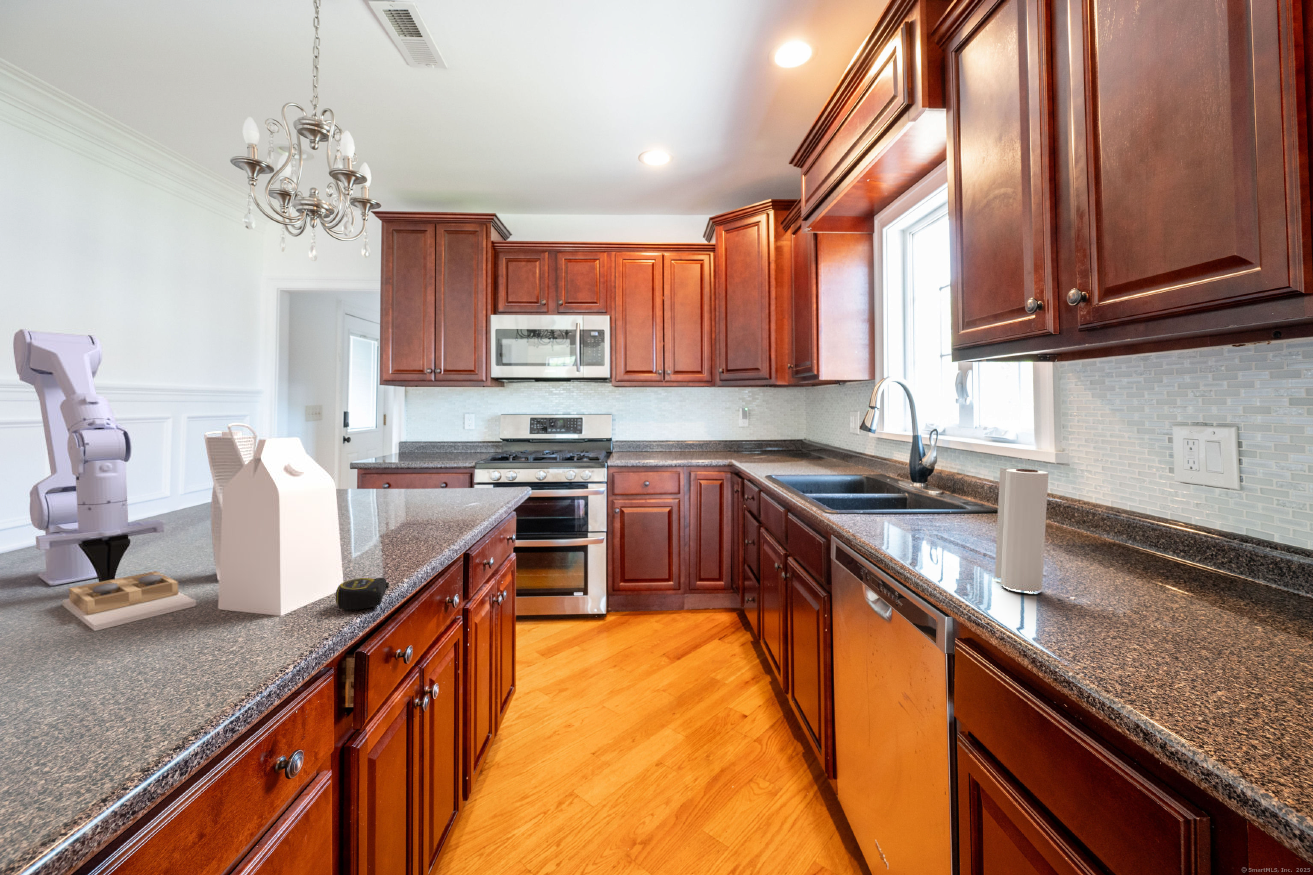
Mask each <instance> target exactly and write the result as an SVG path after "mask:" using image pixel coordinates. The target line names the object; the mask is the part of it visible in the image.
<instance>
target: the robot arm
mask: <svg viewBox="0 0 1313 875" xmlns="http://www.w3.org/2000/svg"><path fill="white" fill-rule="evenodd" d="M12 342H13V346H12V347H13V356H14V357H13V358H14V364H15V368H16V374H17V375H18V378H19V380H20V381H22V382H23V383H25V384H29V385H31V386H33V387H34V390H35V392H36V394H37V397H38V401H39V406H40V413H41V419H42V426H43V431H44V437H45V446H46V450H47V457H48V464H49V469H50V475H49V476H47V477H45V478H43V479H42V480H40V481H38V482H37V483H35V484H34V485H33V486H32V488H31V490H30V491H29V499H30V501H29V518H30V521H31V525H32V527H34V528H36V529H37V530H39V531H43V532H45V534H44V535H36V536H35V548H36V549H37V550H38V551H43V550H44V551H45V569H46V570H45V572H41V573H38V574H37V575H38V576H37V577H38V578H40V579H41V580H43V581H44V582H45V583H46V584H48V585H49V586H52V587H53V586H56V585H57V586H58V585H62V584H63V585H64V584H68V583H73V582H74V583H75V582H79V581H84V580H90V579H95V578H97V579H98V582H102V581H108V580H113V579H116V575H117V571H118V568H119V566H120V563H121V561H122V559H123V557H124V555H125V553H126V551H127V549H128V548H129V547H130V546H131V545H130V544H131V539H130V538H129V537H132V536H133V537H134V536H140V535H147V534H153V533H156V534H159V533H164V532H165V521H164V520H161V519H158V520H157V519H156V520H150V521H149V520H148V521H139V522H138V521H137V522H129V513H128V508H129V507H128V490H127V489H128V488H127V487H128V486H127V485H128V484H127V471H126V470H127V469H126V467H127V466H126V463H128V462H129V461H130V459H131V457H132V441H131V436H130V432H129V430H127V428H126V427H123V425H122V424H120V423H117V420H116V418H115V415H114V414H113V410H112V408H111V405H110V402H109V401H108V399H106V398H105V396H102V395H99V394H97V392H96V387H95V383H94V382H95V381H94V379H95V378H96V376H97V373H98V370H99V367H100V365H101V363H102V358H103V351H102V350H103V349H102V348H103V347H102V345H101V341H100V339H98V338H97V337H96V336H95V335H92V334H90V335H89V334H88V335H84V334H83V335H82V334H73V333H72V334H71V333H60V332H59V333H58V332H50V331H49V332H47V331H38V330H37V331H36V330H35V331H34V330H27V329H23V328H21V329H19V330H17V331H16V332H15V333H14V336H13V341H12Z"/></svg>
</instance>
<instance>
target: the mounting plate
mask: <svg viewBox="0 0 1313 875" xmlns="http://www.w3.org/2000/svg"><path fill="white" fill-rule="evenodd" d="M160 580H161V575H149V576H144V577H141V578H139V583H140V584H145V587H147V586H152V585H156V582H157V581H160ZM116 589H118V584H117V583H110V584H103V585H99V586H96V587H93V593H100V596H104V595H109V594H112V591H113V590H116ZM61 603H62V606H63V607H64V608H65V609H67V611H68V612H70V613H72V615H74V616H75V617H76V618H77V619H79V620H80V621H81V622H83V623H84V624H85V625H87V626H88V627H89V628H90V629H91V630H93V631H94V632H97V631H100V630H104V629H109V628H112V627H116V626H117V627H118V626H120V625H125V624H128V623H133V622H137V621H141V620H144V619H145V620H146V619H149V618H152V617H157V616H162V615H165V614H169V613H173V612H178V611H180V610H185V609H189V608H194V607H197V600H195V599H193V598H191V597H190V596H187V595H186V594H183V593H181V592H180V591H178V594H177V595H173V596H169V597H164V598H160V599H155V600H151V601H147V602H142V603H138V604H133V605H129V606H125V607H120V608H116V609H111V610H107V611H103V612H98V613H94V614H89V615H88V614H86V613H85V612H84V611H83V610H81V609H80V608H79V607H77V606H76V605H75V604H73V603H72V602H71V601H70V598H68V599H63V600H62V602H61Z"/></svg>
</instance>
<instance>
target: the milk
mask: <svg viewBox="0 0 1313 875" xmlns="http://www.w3.org/2000/svg"><path fill="white" fill-rule="evenodd" d="M338 510H339V509H338V499H337V488H336V483H335V481H334V479H333V478H332V477H331V475H330V474H329V473H328V472H327V470H325V469H324V468H323V467H321V465H319V464H318V463H317V462H316V461H315V460H314V459H313V458H312V457H311V456H309V454H307V453H306V450H305V448H304V446H303V443H302V441H301V439H300V437H297V436H294V437H279V438H277V437H276V438H261V439H260V438H259V439H258V442H257V443H256V447H255V453H254V458H253V459H251V460H250V461H249V462H248V463H247V464H246V465H245V466H244V467H243V468H242V469H241V470H240V471H239V472H238V473H237V474H236V475H235V476H234V477H233V478H232V479H231V480H230V481H229V482H228V483H227V485H226V486H225V488H224V491H223V501H222V526H221V551H220V576H219V582H218V583H219V584H218V605H217V609H218V610H223V611H224V610H225V611H233V612H243V613H252V614H259V615H260V614H263V615H270V616H284V615H286V614H289V613H291V612H293V611H295V610H299V609H300V608H302V607H303V608H304V607H305V606H306V605H307V606H308V605H310V604H311V603H314V602H317V601H319V600H321V599H323V598H326V597H328V596H331V595H333V594H336V590H337V589H338V586H339V585H340V584H342V583H344V575H343V571H344V570H343V559H342V548H341V546H342V545H341V537H340V535H341V533H340V523H339V522H340V521H339V511H338Z"/></svg>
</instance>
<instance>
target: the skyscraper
mask: <svg viewBox="0 0 1313 875" xmlns="http://www.w3.org/2000/svg"><path fill="white" fill-rule="evenodd" d="M231 427H243V428H247V429H248V430H249V431H251V433H252V434H253V435H243V434H242V431H241V430H232V428H231ZM227 429H228V430H225V431H224V430H223V431H222V430H221V431H220V430H219V431H208V432H205V433H204V434H203V435H204V442H205V448H206V454H207V458H208V459H207V460H208V465H209V470H210V474H211V478H212V481H213V482H212V483H213V487H212V493H211V504H210V505H211V506H210V525H211V526H210V528H211V541H212V550H213V558H214V565H215V573H216V580H217V583H219V576H220V551H221V526H222V501H223V491H224V488H225V486H226V485H227V483H228V482H229V481H230V480H231V479H232V478H233V477H234V476H235V475H236V474H237V473H238V472H239V471H240V470H241V469H242V468H243V467H244V466H245V465H246V464H247V463H248V462H249V461H250V460H251V459H253V458H254V453H255V450H256V447H257V439H258V438H257V437H258V436H257V433H256V431H255V430H254V429H253V428H252V427H251V426H249V425H248V424H246V423H240V422H233V423H229V424H227ZM209 435H211V436H209ZM212 435H215V436H212Z"/></svg>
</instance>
